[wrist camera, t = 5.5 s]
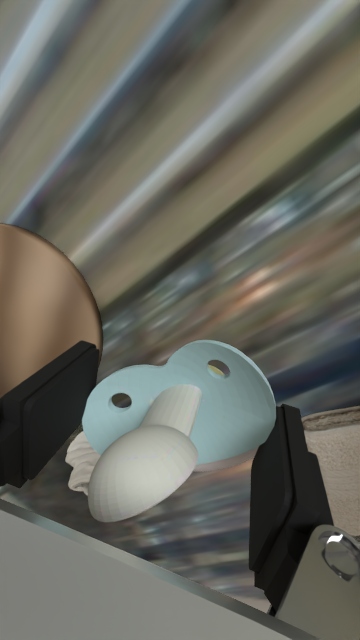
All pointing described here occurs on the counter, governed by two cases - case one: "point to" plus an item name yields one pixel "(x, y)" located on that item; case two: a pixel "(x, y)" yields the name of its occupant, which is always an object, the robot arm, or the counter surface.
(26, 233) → the walnut board
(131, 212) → the counter surface
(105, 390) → the pacifier
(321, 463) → the washcloth
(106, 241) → the counter surface
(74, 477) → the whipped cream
